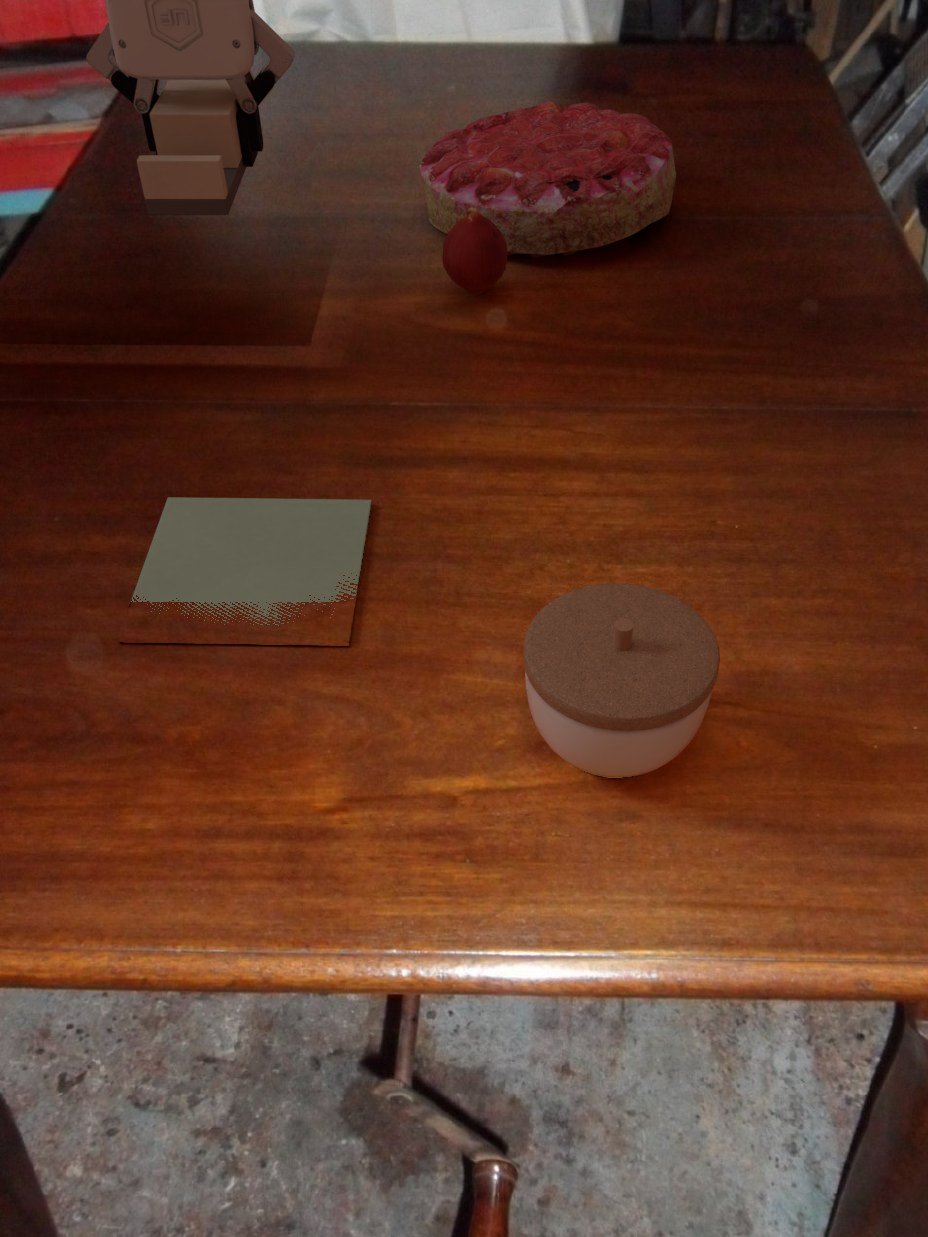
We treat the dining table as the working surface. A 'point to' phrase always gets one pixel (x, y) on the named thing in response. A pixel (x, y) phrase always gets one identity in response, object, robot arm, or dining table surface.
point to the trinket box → (619, 677)
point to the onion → (474, 253)
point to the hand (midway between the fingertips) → (208, 158)
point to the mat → (254, 553)
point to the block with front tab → (193, 150)
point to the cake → (552, 176)
